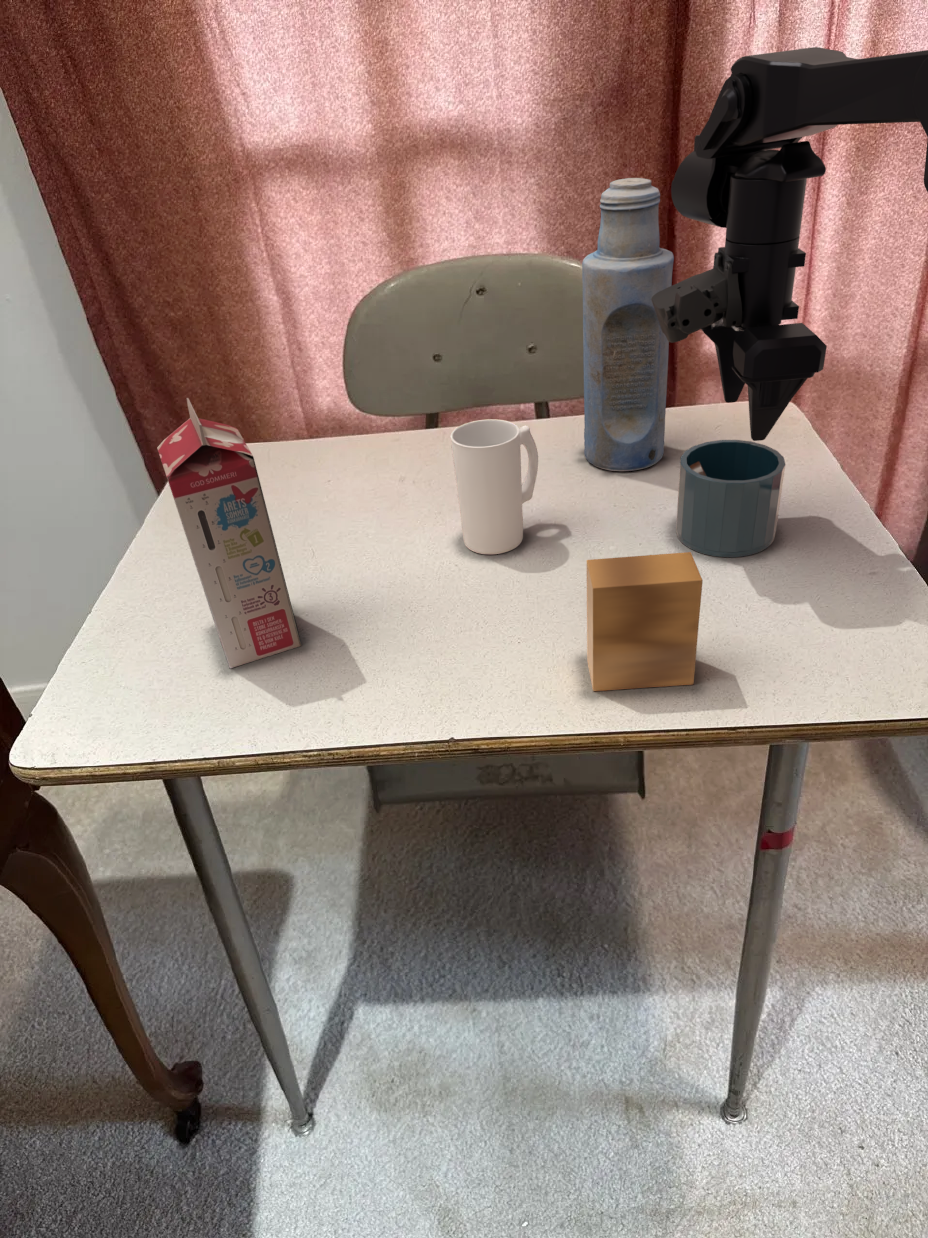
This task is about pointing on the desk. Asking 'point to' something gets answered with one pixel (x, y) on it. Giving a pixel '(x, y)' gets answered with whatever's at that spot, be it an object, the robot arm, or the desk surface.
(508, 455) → the mug
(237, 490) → the juice carton
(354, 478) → the desk surface
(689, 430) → the desk surface
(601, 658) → the wooden block
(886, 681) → the desk surface
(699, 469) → the brown disc handle
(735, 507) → the crock
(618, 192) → the bottle
